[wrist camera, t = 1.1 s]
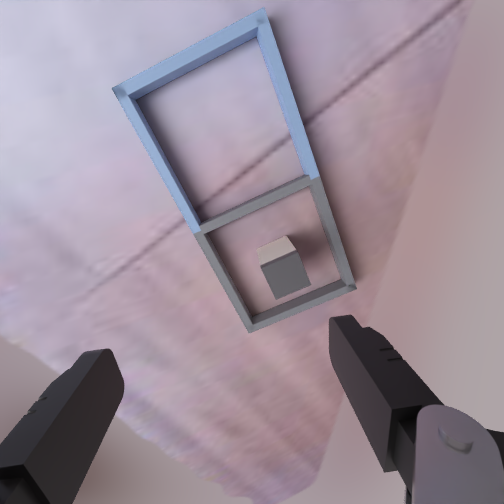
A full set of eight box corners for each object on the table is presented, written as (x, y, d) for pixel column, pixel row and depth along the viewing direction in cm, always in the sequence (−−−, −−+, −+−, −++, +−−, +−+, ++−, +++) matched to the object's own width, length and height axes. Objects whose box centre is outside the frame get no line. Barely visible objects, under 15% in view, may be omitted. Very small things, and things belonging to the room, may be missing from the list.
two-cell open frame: (262, 18, 22) (264, 6, 21) (350, 282, 33) (356, 288, 31) (120, 93, 24) (111, 88, 22) (248, 324, 34) (248, 333, 32)
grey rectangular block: (286, 235, 30) (298, 252, 24) (297, 262, 31) (311, 284, 25) (256, 248, 30) (261, 268, 24) (268, 275, 31) (276, 299, 26)
